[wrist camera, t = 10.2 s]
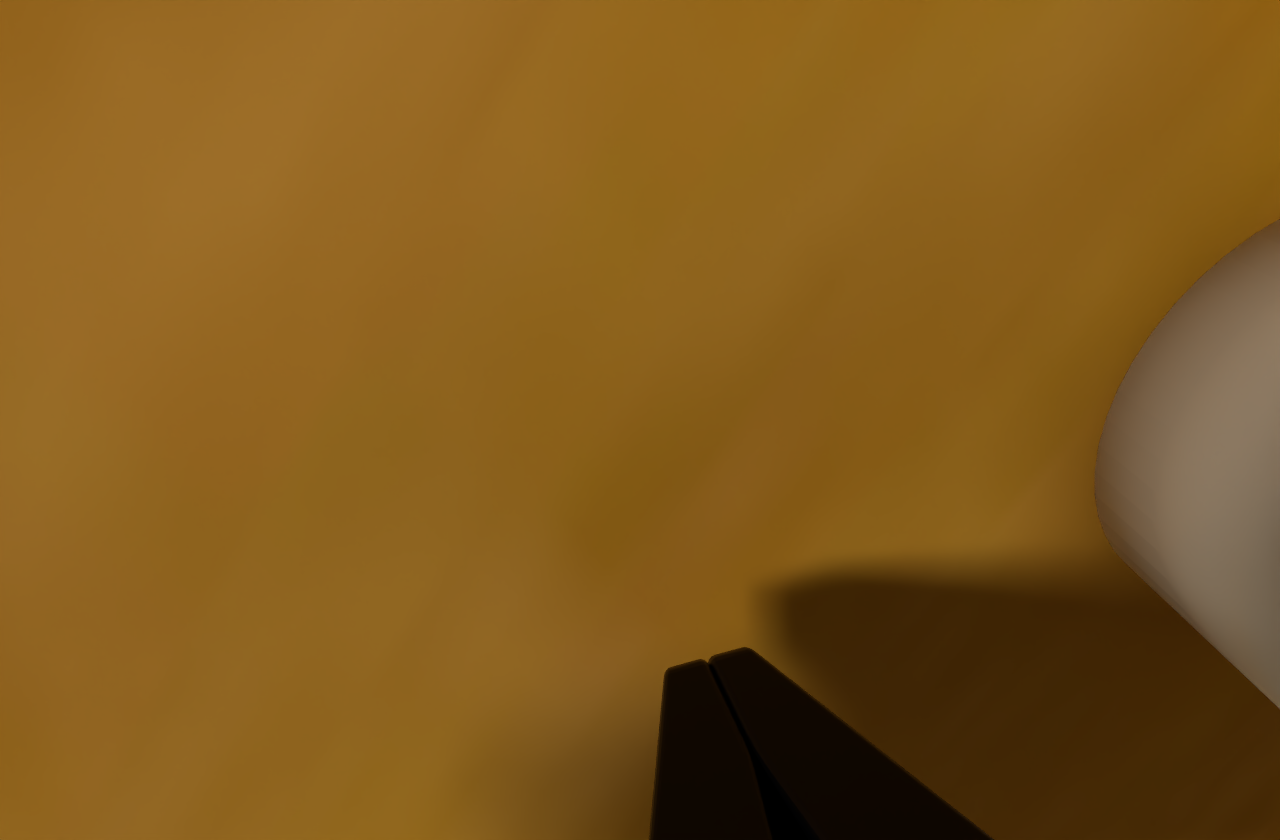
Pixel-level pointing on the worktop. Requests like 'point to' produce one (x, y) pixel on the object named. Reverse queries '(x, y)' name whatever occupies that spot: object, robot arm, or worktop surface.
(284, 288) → the worktop surface
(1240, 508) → the cream jar
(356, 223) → the worktop surface
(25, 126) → the worktop surface
